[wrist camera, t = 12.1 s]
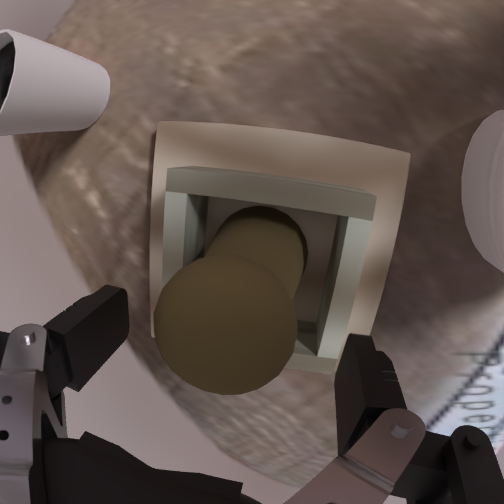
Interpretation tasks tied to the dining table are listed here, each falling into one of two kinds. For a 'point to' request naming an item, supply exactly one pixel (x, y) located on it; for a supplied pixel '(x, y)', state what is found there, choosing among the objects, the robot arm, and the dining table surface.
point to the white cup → (47, 87)
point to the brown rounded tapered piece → (235, 304)
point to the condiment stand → (292, 203)
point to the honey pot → (485, 189)
